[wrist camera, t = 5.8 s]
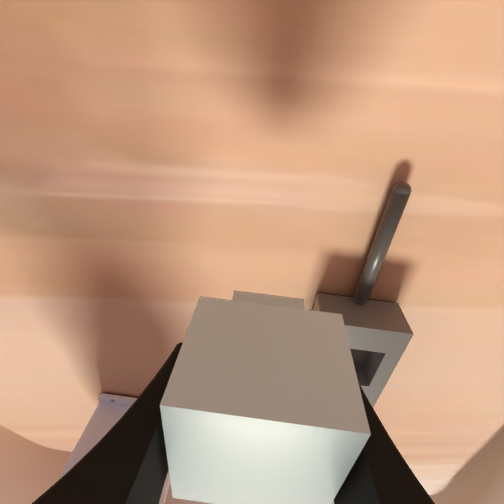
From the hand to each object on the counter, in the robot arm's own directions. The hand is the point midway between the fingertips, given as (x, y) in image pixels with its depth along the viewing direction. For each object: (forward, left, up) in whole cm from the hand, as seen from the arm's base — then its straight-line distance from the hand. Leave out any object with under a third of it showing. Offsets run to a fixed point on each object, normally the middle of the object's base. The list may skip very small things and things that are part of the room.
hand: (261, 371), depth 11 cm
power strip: (+7, -11, -10) cm, 16 cm away
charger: (0, 0, -3) cm, 3 cm away
